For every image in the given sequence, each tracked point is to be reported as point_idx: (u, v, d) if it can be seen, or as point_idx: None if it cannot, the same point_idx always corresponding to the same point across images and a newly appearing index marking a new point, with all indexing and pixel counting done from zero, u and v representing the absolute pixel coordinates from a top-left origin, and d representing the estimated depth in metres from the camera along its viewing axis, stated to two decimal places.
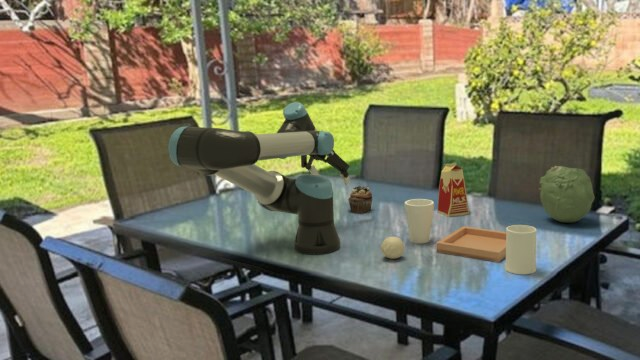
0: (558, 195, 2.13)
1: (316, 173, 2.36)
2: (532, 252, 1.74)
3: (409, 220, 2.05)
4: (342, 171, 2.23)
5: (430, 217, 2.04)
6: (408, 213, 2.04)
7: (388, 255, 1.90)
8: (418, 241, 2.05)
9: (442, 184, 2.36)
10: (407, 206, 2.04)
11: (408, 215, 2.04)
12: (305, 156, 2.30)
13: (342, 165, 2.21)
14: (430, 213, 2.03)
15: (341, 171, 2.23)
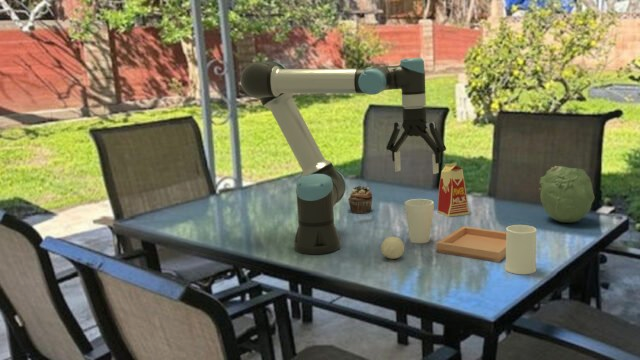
0: (558, 195, 2.13)
1: (399, 162, 2.09)
2: (532, 252, 1.74)
3: (409, 220, 2.05)
4: (437, 151, 1.98)
5: (430, 217, 2.04)
6: (408, 213, 2.04)
7: (388, 255, 1.90)
8: (418, 241, 2.05)
9: (442, 184, 2.36)
10: (407, 206, 2.04)
11: (408, 215, 2.04)
12: (397, 134, 2.06)
13: (440, 143, 1.97)
14: (430, 213, 2.03)
15: None
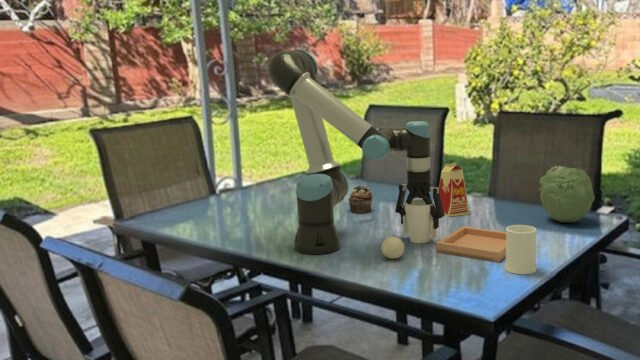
0: (558, 195, 2.13)
1: (407, 225, 2.10)
2: (532, 252, 1.74)
3: (409, 220, 2.05)
4: (435, 217, 2.02)
5: (430, 217, 2.04)
6: (408, 213, 2.04)
7: (388, 255, 1.90)
8: (418, 241, 2.05)
9: (442, 184, 2.36)
10: (407, 206, 2.04)
11: (408, 215, 2.04)
12: (403, 196, 2.09)
13: (440, 209, 2.01)
14: None
15: (434, 217, 2.02)
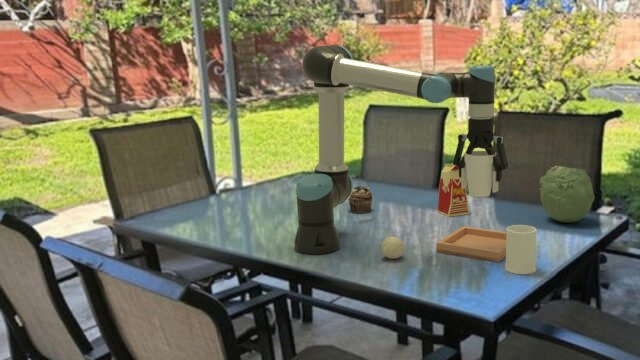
0: (558, 195, 2.13)
1: (465, 179, 1.96)
2: (532, 252, 1.74)
3: (469, 172, 1.91)
4: (499, 169, 1.88)
5: (492, 169, 1.90)
6: (469, 164, 1.90)
7: (388, 255, 1.90)
8: (479, 195, 1.91)
9: (442, 184, 2.36)
10: (468, 156, 1.90)
11: (469, 166, 1.91)
12: (462, 147, 1.95)
13: (504, 160, 1.87)
14: None
15: (497, 168, 1.88)
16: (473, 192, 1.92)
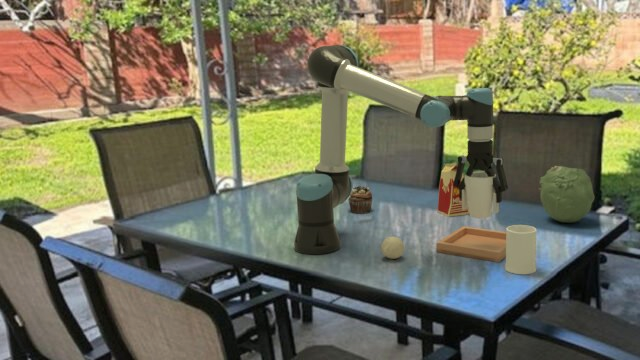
0: (558, 195, 2.13)
1: (466, 200, 1.98)
2: (532, 252, 1.74)
3: (470, 193, 1.92)
4: (499, 190, 1.89)
5: (492, 190, 1.91)
6: (469, 186, 1.92)
7: (388, 255, 1.90)
8: (479, 216, 1.93)
9: (442, 184, 2.36)
10: (468, 178, 1.91)
11: (469, 188, 1.92)
12: (462, 169, 1.96)
13: (504, 182, 1.88)
14: None
15: (498, 190, 1.89)
16: (474, 213, 1.93)
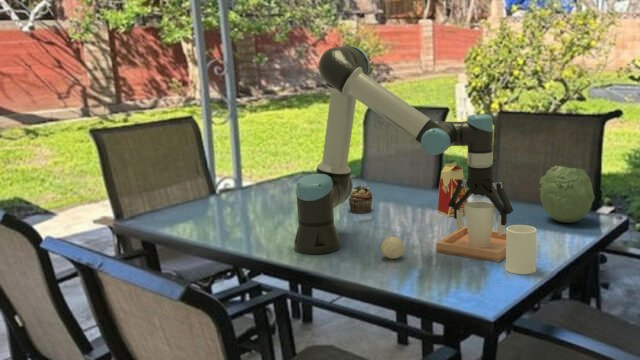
0: (558, 195, 2.13)
1: (461, 220, 2.00)
2: (532, 252, 1.74)
3: (470, 223, 1.94)
4: (504, 213, 1.90)
5: (492, 220, 1.93)
6: (469, 216, 1.94)
7: (388, 255, 1.90)
8: (479, 245, 1.95)
9: (442, 184, 2.36)
10: (468, 208, 1.93)
11: (469, 218, 1.94)
12: (460, 191, 1.98)
13: (507, 204, 1.89)
14: (492, 216, 1.93)
15: (502, 212, 1.90)
16: (473, 243, 1.95)
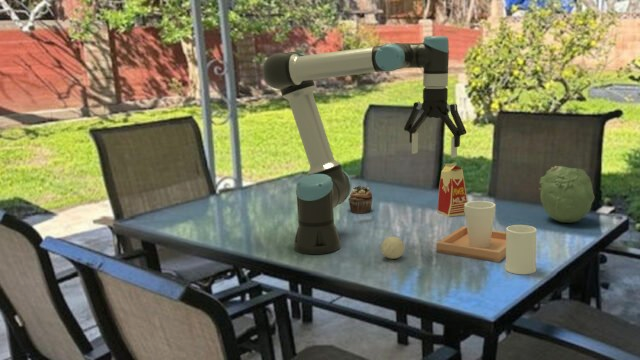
0: (558, 195, 2.13)
1: (416, 144, 2.02)
2: (532, 252, 1.74)
3: (469, 223, 1.94)
4: (457, 134, 1.91)
5: (492, 220, 1.93)
6: (469, 216, 1.94)
7: (388, 255, 1.90)
8: (479, 245, 1.95)
9: (442, 184, 2.36)
10: (468, 208, 1.93)
11: (468, 218, 1.94)
12: (415, 114, 1.99)
13: (460, 125, 1.90)
14: (492, 216, 1.93)
15: (456, 134, 1.91)
16: (473, 243, 1.95)
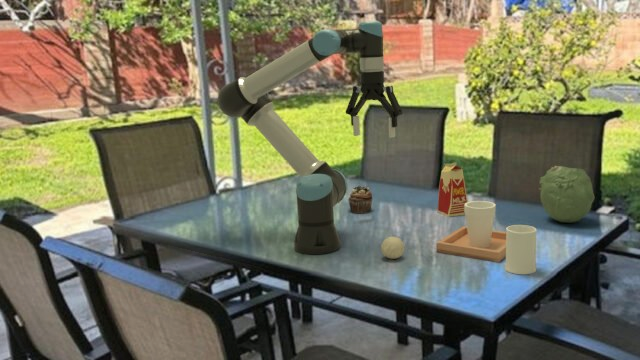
0: (558, 195, 2.13)
1: (358, 126, 2.09)
2: (532, 252, 1.74)
3: (469, 223, 1.94)
4: (393, 114, 1.99)
5: (492, 220, 1.93)
6: (469, 216, 1.94)
7: (388, 255, 1.90)
8: (479, 245, 1.95)
9: (442, 184, 2.36)
10: (468, 208, 1.93)
11: (469, 218, 1.94)
12: (355, 98, 2.07)
13: (396, 106, 1.98)
14: (492, 216, 1.93)
15: (392, 114, 1.99)
16: (473, 243, 1.95)
